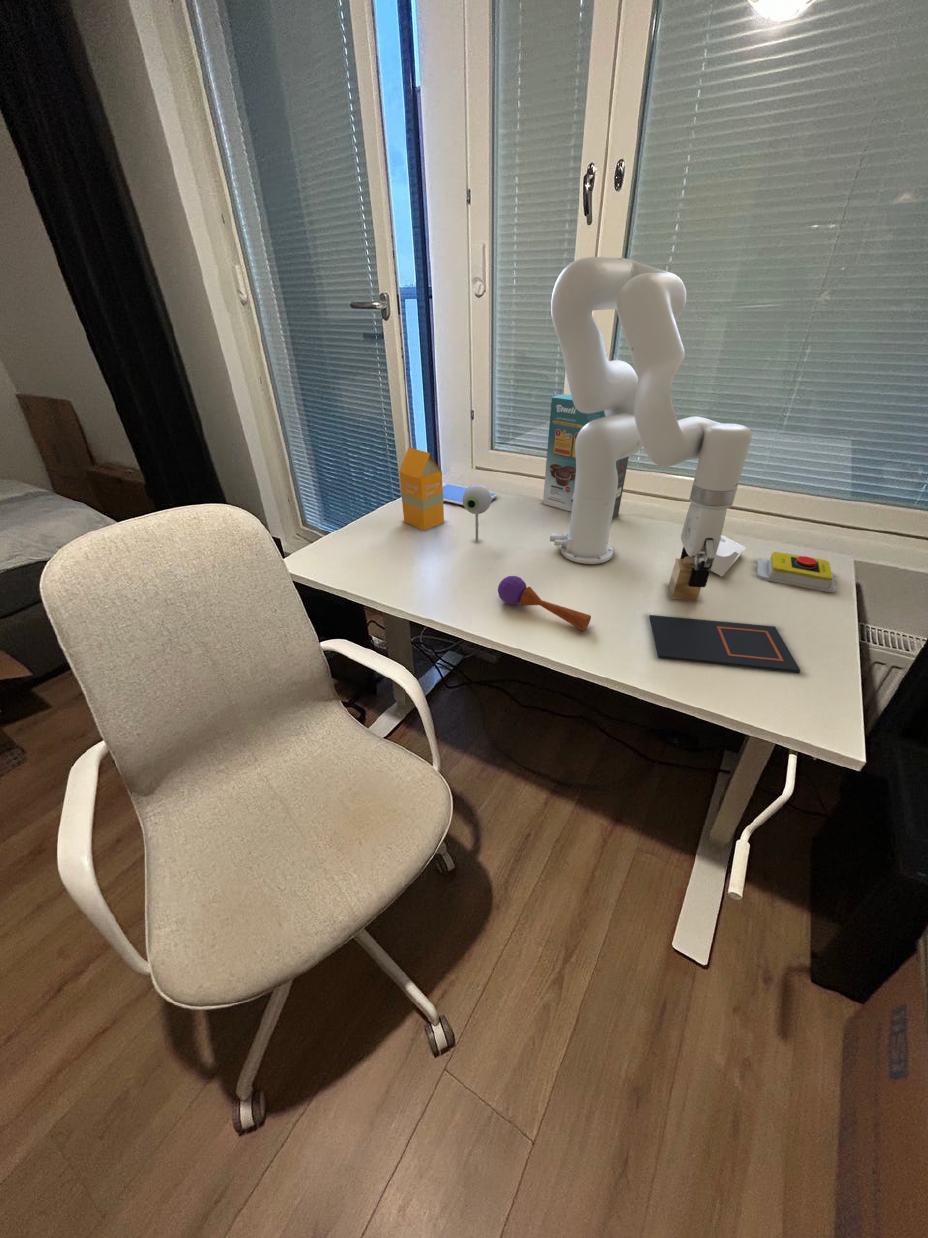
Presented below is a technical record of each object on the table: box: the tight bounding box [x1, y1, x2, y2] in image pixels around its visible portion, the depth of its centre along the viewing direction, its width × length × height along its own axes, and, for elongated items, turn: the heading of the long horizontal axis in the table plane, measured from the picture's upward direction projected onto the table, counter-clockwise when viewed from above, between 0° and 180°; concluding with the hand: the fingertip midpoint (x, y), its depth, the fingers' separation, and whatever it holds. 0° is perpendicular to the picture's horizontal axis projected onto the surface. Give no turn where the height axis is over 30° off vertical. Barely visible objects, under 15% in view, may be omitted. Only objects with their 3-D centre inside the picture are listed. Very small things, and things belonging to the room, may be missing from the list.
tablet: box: [442, 483, 498, 506], centre depth 151 cm, size 19×13×1 cm, turn 57°
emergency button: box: [756, 551, 837, 594], centre depth 107 cm, size 9×4×15 cm
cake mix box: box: [542, 393, 630, 520], centre depth 134 cm, size 22×6×30 cm, turn 49°
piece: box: [668, 556, 702, 602], centre depth 101 cm, size 5×5×8 cm
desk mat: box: [649, 614, 801, 674], centre depth 89 cm, size 23×13×1 cm, turn 79°
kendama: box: [497, 575, 592, 632], centre depth 96 cm, size 6×6×20 cm
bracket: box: [699, 534, 747, 577], centre depth 112 cm, size 13×7×8 cm, turn 138°
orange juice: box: [398, 446, 445, 531], centre depth 130 cm, size 8×9×20 cm
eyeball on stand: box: [462, 484, 492, 543], centre depth 121 cm, size 7×7×15 cm
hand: (691, 574), depth 100 cm, fingers open, 9 cm apart
